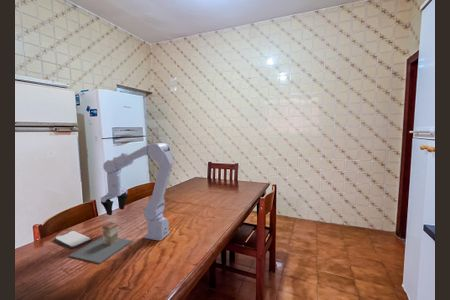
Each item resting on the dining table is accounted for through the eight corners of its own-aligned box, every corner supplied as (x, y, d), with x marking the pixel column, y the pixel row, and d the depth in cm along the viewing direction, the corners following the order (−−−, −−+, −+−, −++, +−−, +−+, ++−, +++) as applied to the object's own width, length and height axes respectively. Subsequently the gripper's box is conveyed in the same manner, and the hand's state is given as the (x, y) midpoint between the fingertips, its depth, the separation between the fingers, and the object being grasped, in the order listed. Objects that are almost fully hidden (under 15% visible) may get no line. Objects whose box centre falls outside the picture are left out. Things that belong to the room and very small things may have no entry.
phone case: (93, 241, 98) (74, 233, 106) (93, 238, 98) (73, 229, 106) (72, 251, 91) (52, 241, 98) (71, 247, 90) (52, 237, 98)
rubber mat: (132, 241, 97) (132, 240, 97) (100, 263, 81) (100, 262, 81) (104, 236, 102) (104, 235, 102) (68, 256, 86) (68, 255, 86)
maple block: (118, 240, 97) (117, 223, 96) (110, 245, 93) (109, 227, 92) (110, 239, 98) (109, 222, 97) (103, 243, 94) (102, 226, 94)
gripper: (119, 180, 112) (120, 206, 114) (94, 187, 99) (96, 216, 100) (130, 181, 110) (131, 207, 112) (106, 188, 97) (108, 218, 98)
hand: (115, 211), depth 106 cm, fingers open, 7 cm apart
